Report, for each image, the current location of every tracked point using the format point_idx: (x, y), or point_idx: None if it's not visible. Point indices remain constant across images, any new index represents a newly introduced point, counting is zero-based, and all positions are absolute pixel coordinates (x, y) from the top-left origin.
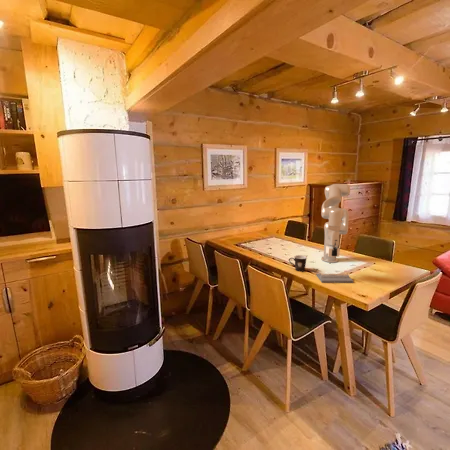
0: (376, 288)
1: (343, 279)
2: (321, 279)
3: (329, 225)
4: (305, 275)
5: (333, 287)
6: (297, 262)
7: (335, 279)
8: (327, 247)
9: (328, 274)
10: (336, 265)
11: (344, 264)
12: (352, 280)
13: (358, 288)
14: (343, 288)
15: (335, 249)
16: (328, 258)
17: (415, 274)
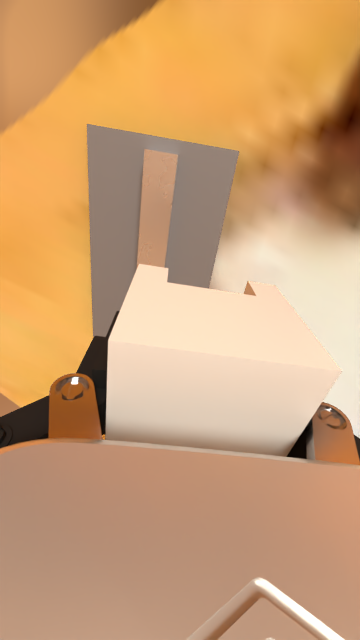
0: (39, 384)
1: (111, 295)
2: (108, 130)
3: None
4: (269, 28)
5: (12, 179)
6: None
7: (110, 247)
8: (238, 353)
9: (155, 222)
10: (354, 370)
11: (346, 407)
12: (96, 333)
13: (25, 317)
14: (8, 239)
15: (24, 420)
16: None
17: None
